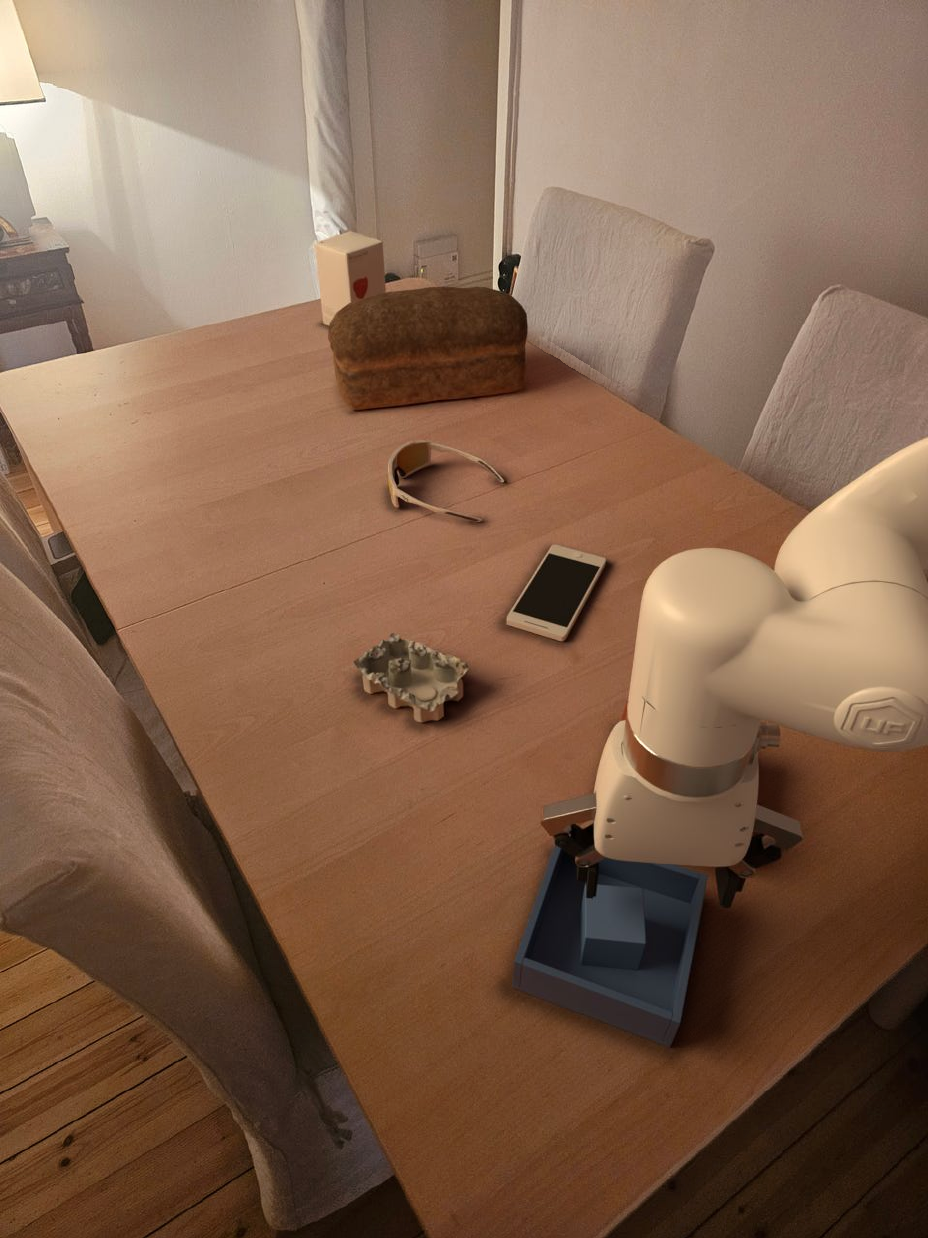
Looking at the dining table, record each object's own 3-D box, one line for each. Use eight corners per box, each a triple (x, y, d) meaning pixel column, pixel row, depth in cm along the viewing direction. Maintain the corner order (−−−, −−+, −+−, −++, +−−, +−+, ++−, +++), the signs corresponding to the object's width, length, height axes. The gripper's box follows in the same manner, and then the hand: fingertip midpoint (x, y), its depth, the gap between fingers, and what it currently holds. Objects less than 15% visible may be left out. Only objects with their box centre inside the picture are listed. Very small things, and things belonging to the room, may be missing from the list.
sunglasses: (409, 455, 120) (412, 426, 117) (506, 486, 118) (512, 457, 115) (369, 508, 111) (371, 478, 107) (474, 543, 108) (479, 513, 105)
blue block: (635, 916, 67) (643, 888, 64) (638, 971, 64) (646, 943, 61) (580, 911, 67) (585, 882, 64) (580, 965, 64) (585, 937, 61)
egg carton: (473, 691, 86) (474, 664, 83) (426, 735, 82) (424, 707, 79) (399, 646, 91) (397, 619, 88) (351, 684, 87) (347, 657, 84)
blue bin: (697, 903, 68) (708, 874, 65) (669, 1048, 60) (680, 1023, 57) (556, 856, 72) (560, 827, 69) (512, 988, 63) (514, 961, 60)
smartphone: (606, 563, 102) (607, 557, 101) (564, 642, 91) (564, 636, 91) (552, 548, 104) (552, 542, 103) (504, 624, 94) (505, 618, 93)
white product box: (353, 337, 151) (345, 253, 141) (322, 324, 156) (312, 241, 146) (389, 322, 156) (384, 240, 146) (358, 310, 161) (350, 229, 150)
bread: (331, 375, 140) (319, 281, 129) (511, 355, 145) (514, 263, 134) (340, 416, 130) (328, 317, 119) (534, 393, 134) (539, 296, 124)
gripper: (822, 697, 51) (767, 848, 63) (545, 685, 53) (540, 834, 65) (852, 797, 46) (785, 943, 57) (541, 779, 48) (537, 924, 59)
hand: (655, 885), depth 61 cm, fingers open, 9 cm apart
